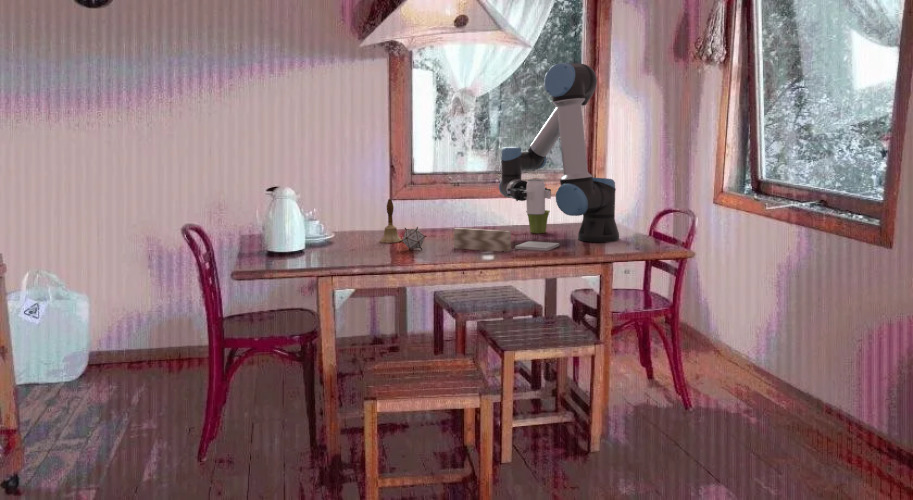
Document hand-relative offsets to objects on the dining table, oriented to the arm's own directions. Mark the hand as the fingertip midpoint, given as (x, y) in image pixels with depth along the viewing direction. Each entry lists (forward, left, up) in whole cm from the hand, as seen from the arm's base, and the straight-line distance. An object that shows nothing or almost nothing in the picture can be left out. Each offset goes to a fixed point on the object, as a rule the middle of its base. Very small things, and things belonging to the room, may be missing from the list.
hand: (540, 195), depth 295 cm
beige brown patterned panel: (+19, +8, -19) cm, 28 cm away
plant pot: (+17, -39, -19) cm, 46 cm away
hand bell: (+59, +4, -19) cm, 62 cm away
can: (+3, -4, -7) cm, 9 cm away
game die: (+41, +18, -19) cm, 48 cm away
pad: (+3, -4, -19) cm, 19 cm away
